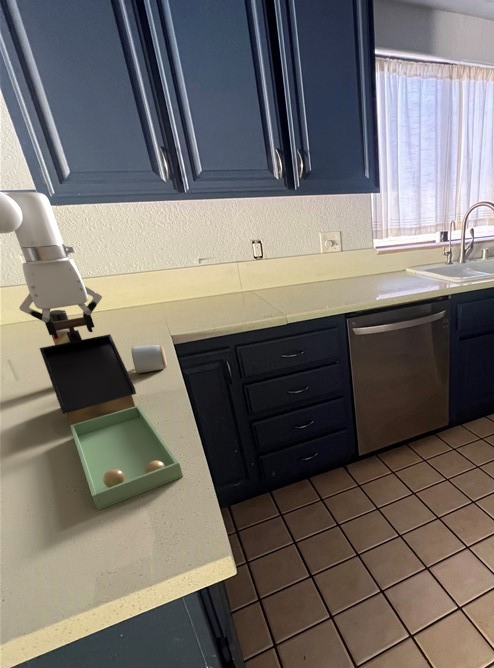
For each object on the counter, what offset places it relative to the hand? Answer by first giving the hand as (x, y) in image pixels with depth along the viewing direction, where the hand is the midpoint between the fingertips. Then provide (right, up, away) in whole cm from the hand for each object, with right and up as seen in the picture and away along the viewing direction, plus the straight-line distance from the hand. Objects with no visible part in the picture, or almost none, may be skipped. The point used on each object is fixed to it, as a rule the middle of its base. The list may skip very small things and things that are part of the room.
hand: (73, 333), depth 100 cm
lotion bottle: (-13, -11, +21) cm, 27 cm away
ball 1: (+27, -28, -27) cm, 47 cm away
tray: (+22, -26, -17) cm, 38 cm away
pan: (+4, -8, -1) cm, 9 cm away
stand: (+4, -17, +4) cm, 18 cm away
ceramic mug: (+4, -7, +27) cm, 28 cm away
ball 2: (+33, -27, -25) cm, 49 cm away
